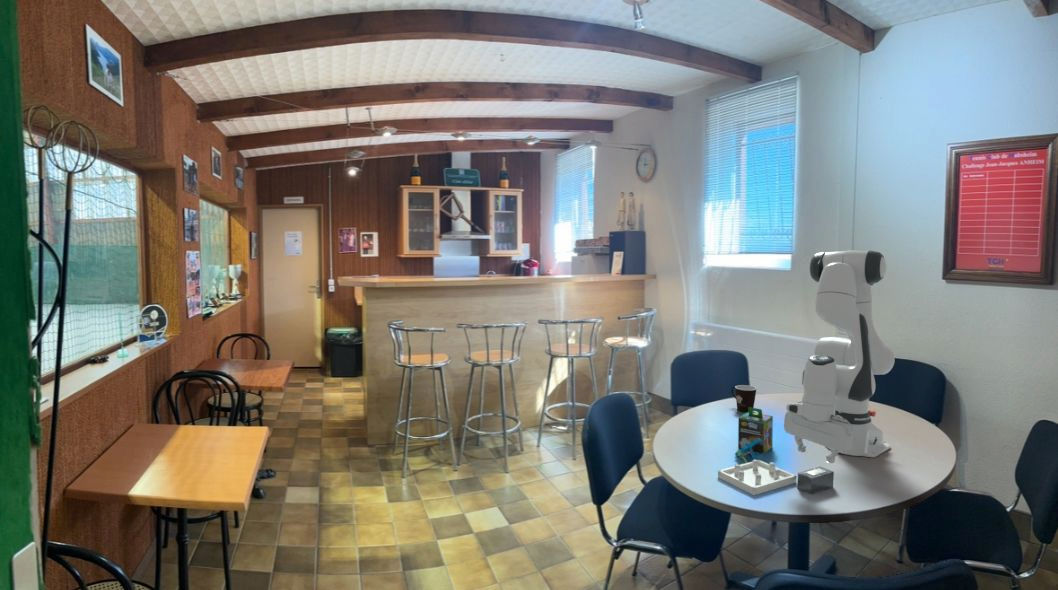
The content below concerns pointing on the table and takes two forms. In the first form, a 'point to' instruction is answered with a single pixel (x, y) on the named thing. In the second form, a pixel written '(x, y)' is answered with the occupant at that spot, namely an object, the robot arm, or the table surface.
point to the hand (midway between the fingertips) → (815, 456)
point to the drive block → (815, 480)
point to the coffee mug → (744, 397)
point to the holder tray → (751, 478)
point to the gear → (748, 448)
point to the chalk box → (755, 430)
